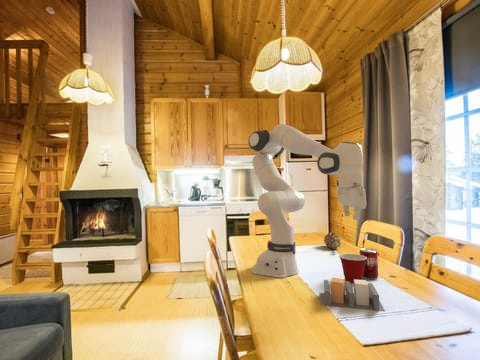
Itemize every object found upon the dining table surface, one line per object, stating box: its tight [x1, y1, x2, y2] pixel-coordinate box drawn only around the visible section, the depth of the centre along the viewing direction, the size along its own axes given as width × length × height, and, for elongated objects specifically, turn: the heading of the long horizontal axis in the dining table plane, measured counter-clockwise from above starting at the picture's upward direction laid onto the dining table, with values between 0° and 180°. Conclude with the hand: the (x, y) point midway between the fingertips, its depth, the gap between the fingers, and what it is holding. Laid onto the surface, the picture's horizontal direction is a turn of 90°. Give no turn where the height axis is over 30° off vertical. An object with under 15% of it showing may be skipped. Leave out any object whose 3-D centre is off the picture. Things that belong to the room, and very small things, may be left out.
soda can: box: [359, 247, 379, 280], centre depth 117 cm, size 7×7×12 cm
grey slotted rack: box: [319, 279, 386, 312], centre depth 91 cm, size 20×10×6 cm, turn 75°
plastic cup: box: [338, 253, 367, 285], centre depth 110 cm, size 11×11×12 cm
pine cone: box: [323, 231, 342, 250], centre depth 163 cm, size 22×10×10 cm, turn 2°
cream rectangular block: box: [353, 279, 369, 306], centre depth 90 cm, size 4×4×7 cm
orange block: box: [330, 277, 346, 304], centre depth 93 cm, size 4×4×7 cm
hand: (351, 217), depth 104 cm, fingers open, 8 cm apart
